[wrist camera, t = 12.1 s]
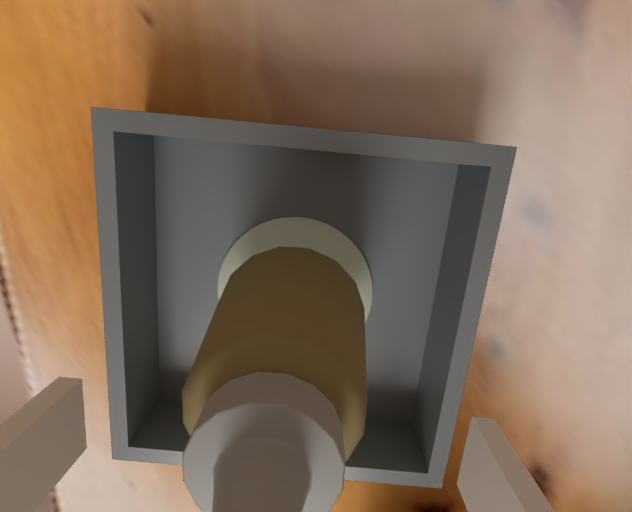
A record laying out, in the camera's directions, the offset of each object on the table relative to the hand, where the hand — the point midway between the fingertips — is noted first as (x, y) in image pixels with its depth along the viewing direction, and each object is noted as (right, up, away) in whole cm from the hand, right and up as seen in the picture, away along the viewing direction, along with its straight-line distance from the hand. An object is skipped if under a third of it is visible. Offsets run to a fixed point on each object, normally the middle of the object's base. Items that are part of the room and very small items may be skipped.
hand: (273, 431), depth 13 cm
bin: (0, +4, +13) cm, 13 cm away
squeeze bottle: (0, +4, +12) cm, 12 cm away
